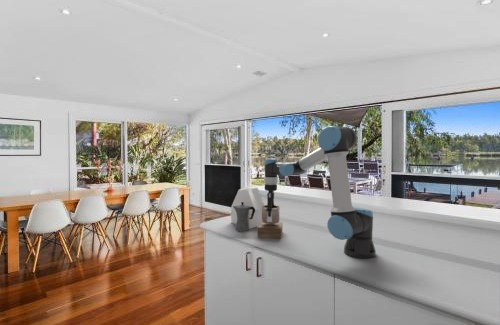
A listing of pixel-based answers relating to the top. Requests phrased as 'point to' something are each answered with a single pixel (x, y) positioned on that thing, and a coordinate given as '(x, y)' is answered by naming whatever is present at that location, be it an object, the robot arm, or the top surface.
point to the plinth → (270, 230)
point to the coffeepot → (243, 216)
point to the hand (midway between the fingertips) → (270, 219)
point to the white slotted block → (249, 199)
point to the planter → (274, 214)
